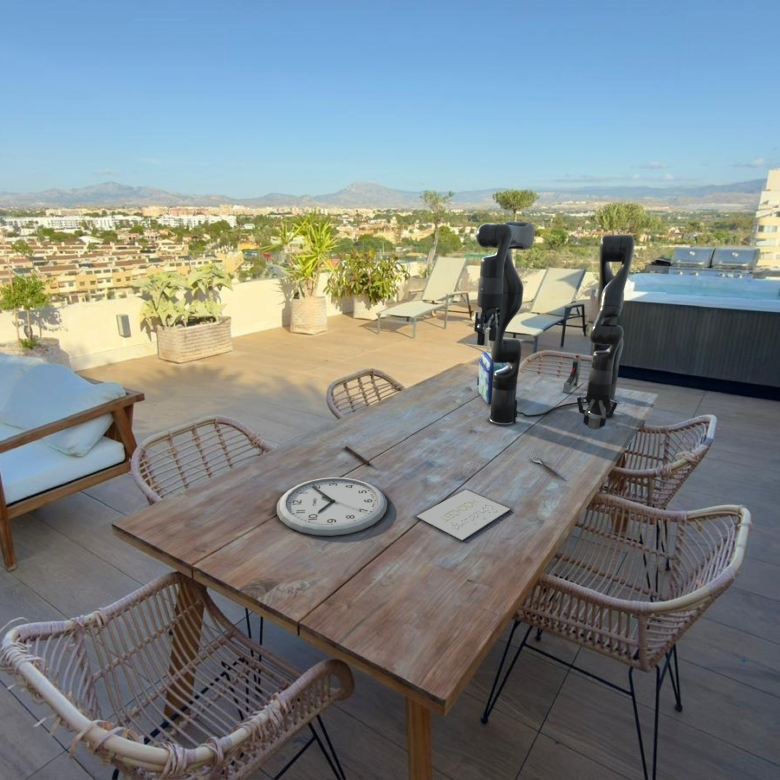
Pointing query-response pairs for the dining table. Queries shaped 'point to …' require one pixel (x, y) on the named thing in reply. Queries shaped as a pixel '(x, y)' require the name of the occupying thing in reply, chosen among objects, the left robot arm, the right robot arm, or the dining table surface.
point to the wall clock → (331, 506)
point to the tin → (594, 421)
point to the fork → (541, 463)
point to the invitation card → (463, 514)
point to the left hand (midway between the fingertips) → (486, 342)
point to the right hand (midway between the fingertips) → (593, 425)
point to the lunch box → (487, 375)
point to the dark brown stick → (357, 455)
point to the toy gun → (573, 375)
